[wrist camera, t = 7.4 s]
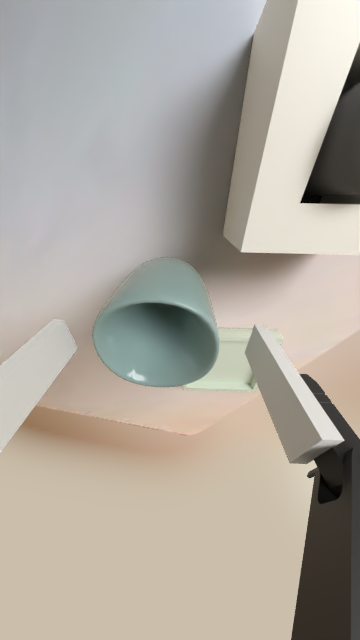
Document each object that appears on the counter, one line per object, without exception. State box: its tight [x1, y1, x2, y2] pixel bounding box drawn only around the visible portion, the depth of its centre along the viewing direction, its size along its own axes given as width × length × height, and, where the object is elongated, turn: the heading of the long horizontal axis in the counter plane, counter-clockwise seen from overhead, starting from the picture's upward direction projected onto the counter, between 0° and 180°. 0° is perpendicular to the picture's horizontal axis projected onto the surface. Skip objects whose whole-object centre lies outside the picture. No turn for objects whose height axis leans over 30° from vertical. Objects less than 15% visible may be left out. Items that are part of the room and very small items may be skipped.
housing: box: [223, 0, 360, 255], centre depth 9 cm, size 10×10×6 cm
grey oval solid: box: [303, 81, 360, 196], centre depth 9 cm, size 4×4×6 cm
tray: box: [182, 328, 284, 392], centre depth 24 cm, size 12×12×2 cm
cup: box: [92, 257, 219, 387], centre depth 14 cm, size 8×8×10 cm
